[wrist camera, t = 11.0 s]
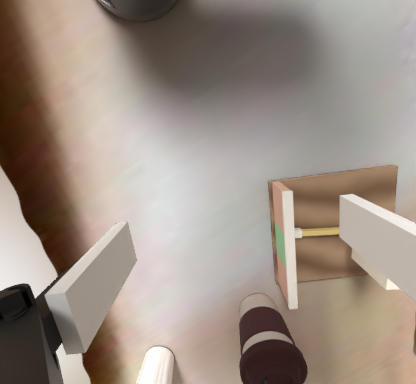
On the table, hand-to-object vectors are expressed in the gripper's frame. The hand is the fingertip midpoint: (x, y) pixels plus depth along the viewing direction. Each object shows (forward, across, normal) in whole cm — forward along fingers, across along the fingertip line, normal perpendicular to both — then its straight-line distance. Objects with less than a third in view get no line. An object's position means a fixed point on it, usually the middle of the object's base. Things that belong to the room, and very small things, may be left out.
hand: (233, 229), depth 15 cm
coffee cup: (+27, +4, -30) cm, 40 cm away
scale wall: (+26, +9, -14) cm, 30 cm away
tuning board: (+27, +18, -14) cm, 35 cm away
